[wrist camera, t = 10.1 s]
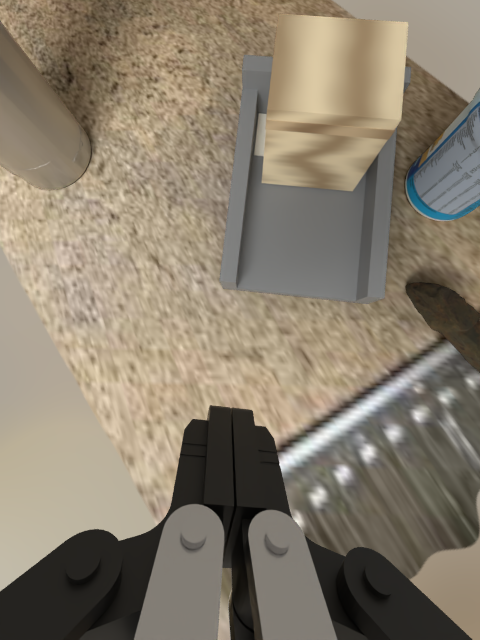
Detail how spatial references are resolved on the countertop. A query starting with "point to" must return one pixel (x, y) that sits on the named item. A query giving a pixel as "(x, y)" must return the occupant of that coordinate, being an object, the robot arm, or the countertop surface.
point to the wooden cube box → (332, 99)
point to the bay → (303, 218)
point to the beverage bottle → (449, 170)
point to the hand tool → (449, 317)
